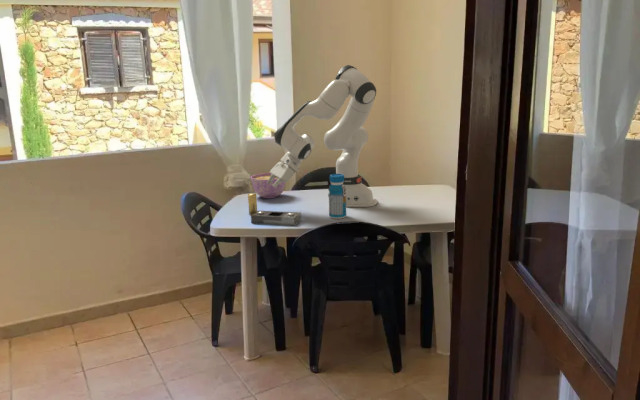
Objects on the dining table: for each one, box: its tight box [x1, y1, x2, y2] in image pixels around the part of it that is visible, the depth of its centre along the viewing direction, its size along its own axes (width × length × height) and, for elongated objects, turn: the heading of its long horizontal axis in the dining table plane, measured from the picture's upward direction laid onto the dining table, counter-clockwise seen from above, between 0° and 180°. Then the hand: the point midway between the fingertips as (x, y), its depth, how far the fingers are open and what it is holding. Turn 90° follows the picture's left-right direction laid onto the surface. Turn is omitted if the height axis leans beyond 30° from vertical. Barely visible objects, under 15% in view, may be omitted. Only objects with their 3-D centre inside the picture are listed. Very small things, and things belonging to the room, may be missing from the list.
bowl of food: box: [250, 172, 286, 199], centre depth 288 cm, size 20×20×12 cm
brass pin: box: [247, 192, 258, 216], centre depth 253 cm, size 4×4×10 cm
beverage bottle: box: [327, 173, 347, 220], centre depth 243 cm, size 8×8×20 cm
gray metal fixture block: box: [250, 210, 302, 226], centre depth 240 cm, size 21×9×4 cm, turn 73°
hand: (271, 184), depth 253 cm, fingers open, 8 cm apart
